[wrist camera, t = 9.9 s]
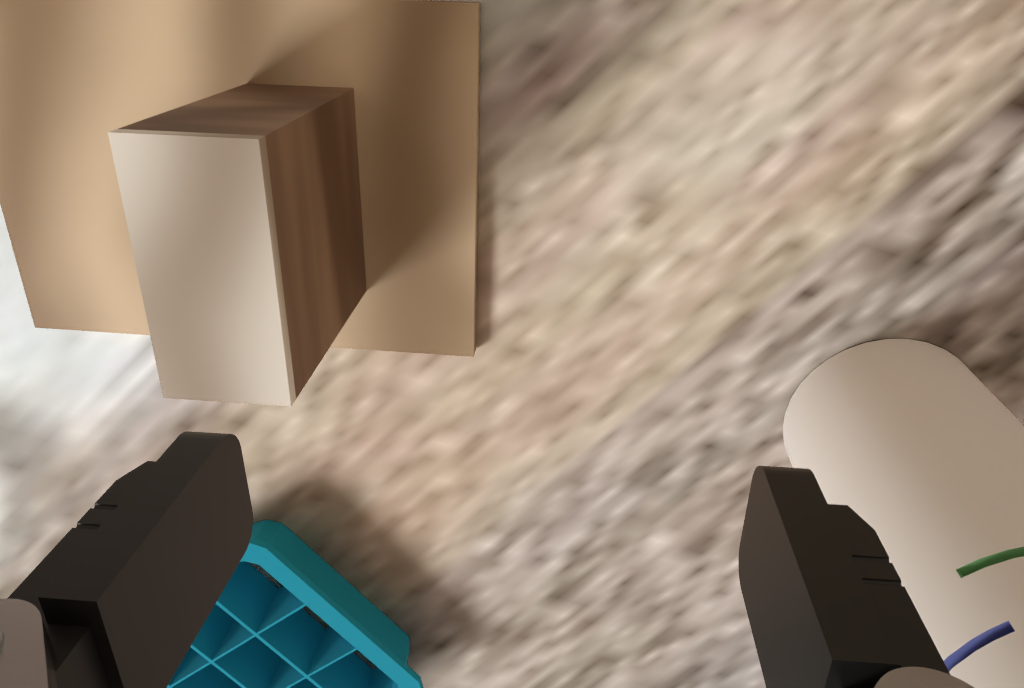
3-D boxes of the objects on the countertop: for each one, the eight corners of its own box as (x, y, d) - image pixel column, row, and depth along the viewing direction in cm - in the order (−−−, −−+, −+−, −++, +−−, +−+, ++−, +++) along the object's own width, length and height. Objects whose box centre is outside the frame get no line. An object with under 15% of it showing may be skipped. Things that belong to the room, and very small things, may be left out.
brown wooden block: (353, 87, 24) (258, 139, 17) (366, 290, 27) (291, 406, 20) (246, 83, 24) (107, 132, 17) (271, 285, 27) (163, 397, 20)
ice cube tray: (16, 664, 39) (-25, 715, 37) (272, 484, 33) (245, 530, 30) (184, 783, 43) (157, 837, 40) (446, 643, 36) (435, 697, 34)
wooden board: (480, 2, 23) (478, 3, 23) (475, 349, 28) (473, 356, 28) (-48, -19, 24) (-62, -19, 23) (44, 320, 29) (35, 327, 29)
